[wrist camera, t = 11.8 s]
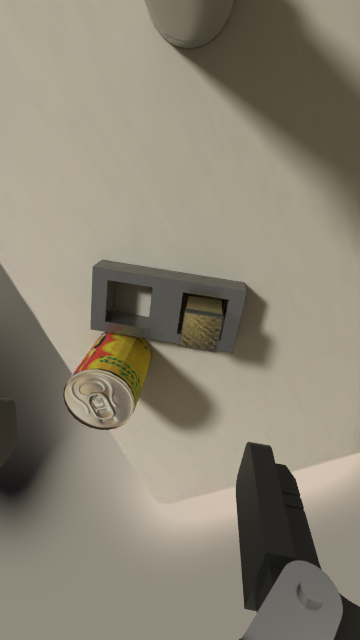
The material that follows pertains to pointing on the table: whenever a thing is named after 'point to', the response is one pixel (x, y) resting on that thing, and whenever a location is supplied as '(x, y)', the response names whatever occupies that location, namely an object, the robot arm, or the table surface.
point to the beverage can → (108, 381)
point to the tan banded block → (202, 323)
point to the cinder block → (161, 302)
